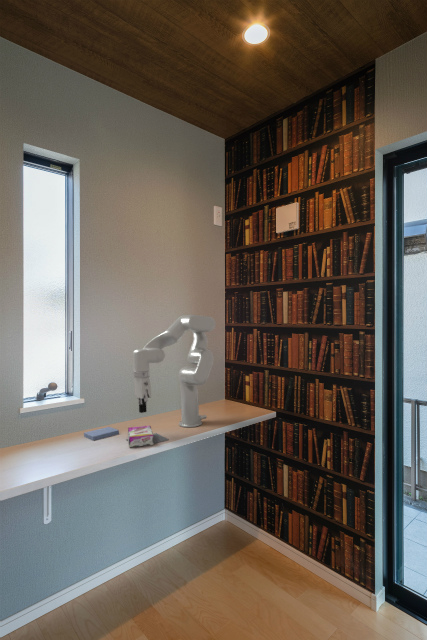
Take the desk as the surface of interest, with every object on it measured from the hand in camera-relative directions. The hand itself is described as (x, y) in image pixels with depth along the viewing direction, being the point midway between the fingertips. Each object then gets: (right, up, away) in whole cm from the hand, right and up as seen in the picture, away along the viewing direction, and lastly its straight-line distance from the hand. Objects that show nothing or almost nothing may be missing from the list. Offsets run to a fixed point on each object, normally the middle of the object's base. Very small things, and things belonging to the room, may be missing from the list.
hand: (142, 412), depth 180 cm
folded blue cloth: (-22, -14, +7) cm, 27 cm away
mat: (+3, -13, -4) cm, 13 cm away
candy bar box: (-2, -10, +3) cm, 11 cm away
